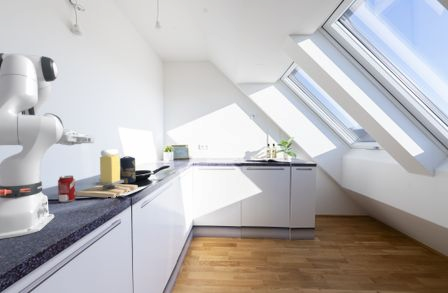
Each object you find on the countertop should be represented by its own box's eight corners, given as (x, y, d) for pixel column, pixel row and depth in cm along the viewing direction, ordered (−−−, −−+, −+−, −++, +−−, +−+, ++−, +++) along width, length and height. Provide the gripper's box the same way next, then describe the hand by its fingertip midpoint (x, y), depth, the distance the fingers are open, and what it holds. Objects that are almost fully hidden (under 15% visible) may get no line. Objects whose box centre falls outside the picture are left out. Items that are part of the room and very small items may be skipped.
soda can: (67, 203, 109) (66, 177, 109) (54, 202, 111) (54, 177, 110) (78, 199, 116) (78, 175, 115) (67, 199, 117) (66, 175, 117)
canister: (132, 184, 153) (131, 156, 152) (117, 184, 153) (117, 156, 152) (137, 181, 163) (137, 155, 162) (124, 181, 163) (123, 155, 162)
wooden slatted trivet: (113, 197, 119) (113, 189, 119) (76, 195, 124) (76, 187, 123) (137, 188, 141) (137, 181, 141) (105, 186, 145) (105, 180, 145)
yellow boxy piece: (112, 185, 126) (111, 150, 125) (95, 184, 128) (94, 150, 127) (123, 182, 136) (123, 149, 135) (108, 181, 138) (107, 149, 137)
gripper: (52, 130, 124) (74, 133, 121) (82, 133, 144) (102, 135, 141) (51, 142, 124) (73, 145, 121) (81, 143, 144) (101, 146, 141)
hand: (89, 140), depth 132 cm, fingers closed
